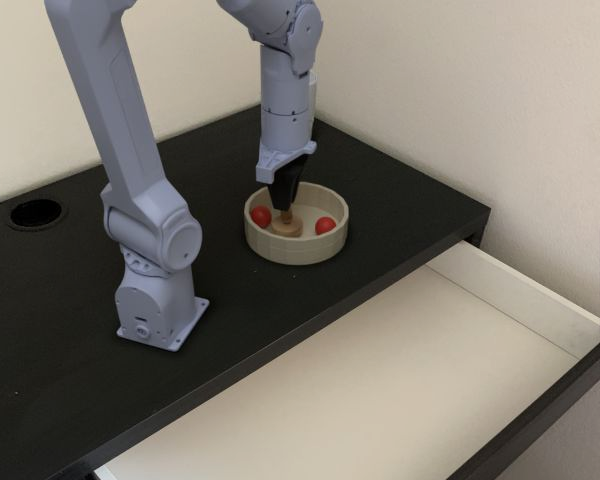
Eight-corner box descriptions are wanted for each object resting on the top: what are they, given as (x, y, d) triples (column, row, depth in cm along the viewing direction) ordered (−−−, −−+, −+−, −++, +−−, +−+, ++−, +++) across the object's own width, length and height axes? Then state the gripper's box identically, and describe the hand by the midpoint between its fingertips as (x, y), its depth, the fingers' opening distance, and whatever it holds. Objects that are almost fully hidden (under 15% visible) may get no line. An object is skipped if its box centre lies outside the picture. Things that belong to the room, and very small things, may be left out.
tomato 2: (332, 245, 91) (333, 226, 89) (311, 240, 91) (312, 222, 89) (338, 233, 93) (340, 214, 90) (318, 228, 93) (319, 210, 91)
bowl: (328, 274, 88) (330, 249, 85) (229, 251, 90) (228, 226, 87) (358, 217, 96) (360, 193, 93) (267, 198, 99) (266, 173, 96)
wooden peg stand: (291, 241, 90) (287, 187, 84) (265, 231, 92) (260, 178, 86) (309, 225, 92) (307, 172, 86) (284, 216, 94) (280, 164, 88)
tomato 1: (268, 232, 92) (258, 216, 90) (253, 232, 94) (242, 216, 92) (279, 217, 93) (269, 201, 91) (263, 217, 95) (253, 201, 93)
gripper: (296, 138, 74) (294, 241, 84) (334, 85, 83) (328, 183, 93) (237, 127, 75) (242, 229, 85) (281, 76, 84) (281, 174, 94)
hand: (284, 204), depth 89 cm, fingers closed on wooden peg stand
